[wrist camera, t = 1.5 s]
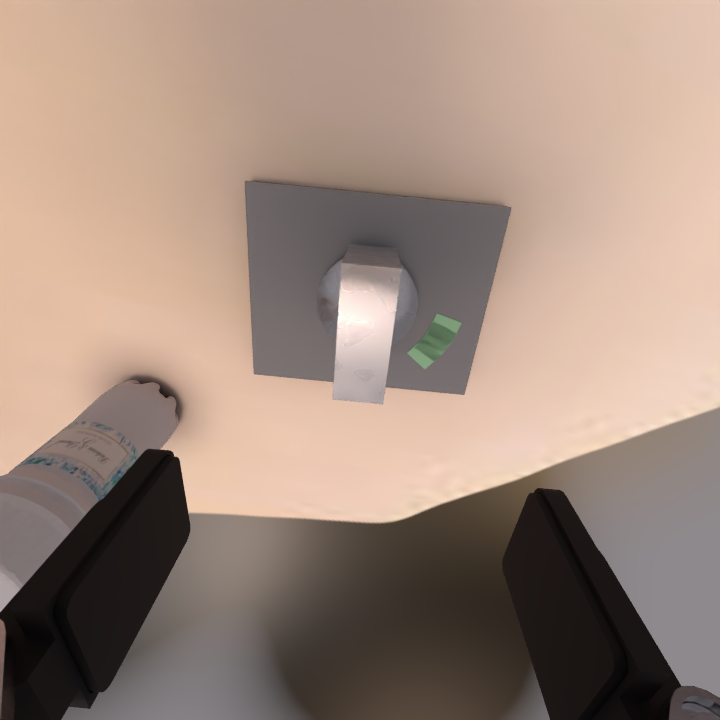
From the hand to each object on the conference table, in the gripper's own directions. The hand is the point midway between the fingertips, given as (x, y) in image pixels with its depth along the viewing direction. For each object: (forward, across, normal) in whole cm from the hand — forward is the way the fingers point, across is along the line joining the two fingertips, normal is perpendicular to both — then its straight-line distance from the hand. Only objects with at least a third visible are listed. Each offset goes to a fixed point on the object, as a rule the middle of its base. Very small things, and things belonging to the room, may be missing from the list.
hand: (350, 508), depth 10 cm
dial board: (+20, 0, 0) cm, 20 cm away
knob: (+18, 0, +1) cm, 18 cm away
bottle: (+20, +18, +12) cm, 30 cm away
